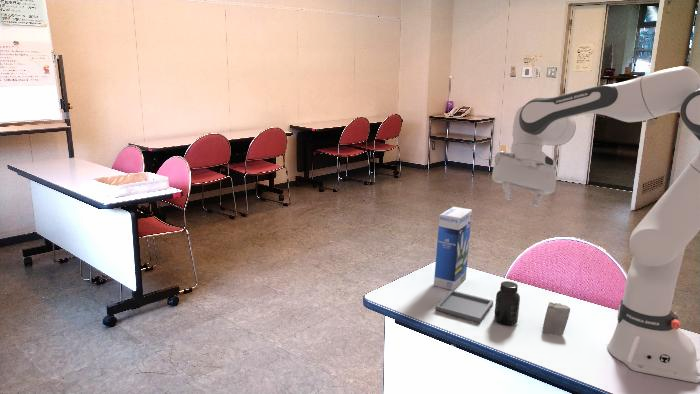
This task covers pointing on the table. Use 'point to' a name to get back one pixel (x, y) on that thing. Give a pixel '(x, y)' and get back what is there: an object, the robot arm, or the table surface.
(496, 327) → the table surface
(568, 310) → the mineral specimen
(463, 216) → the string lights box
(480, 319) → the tray
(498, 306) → the supplement bottle
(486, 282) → the table surface
